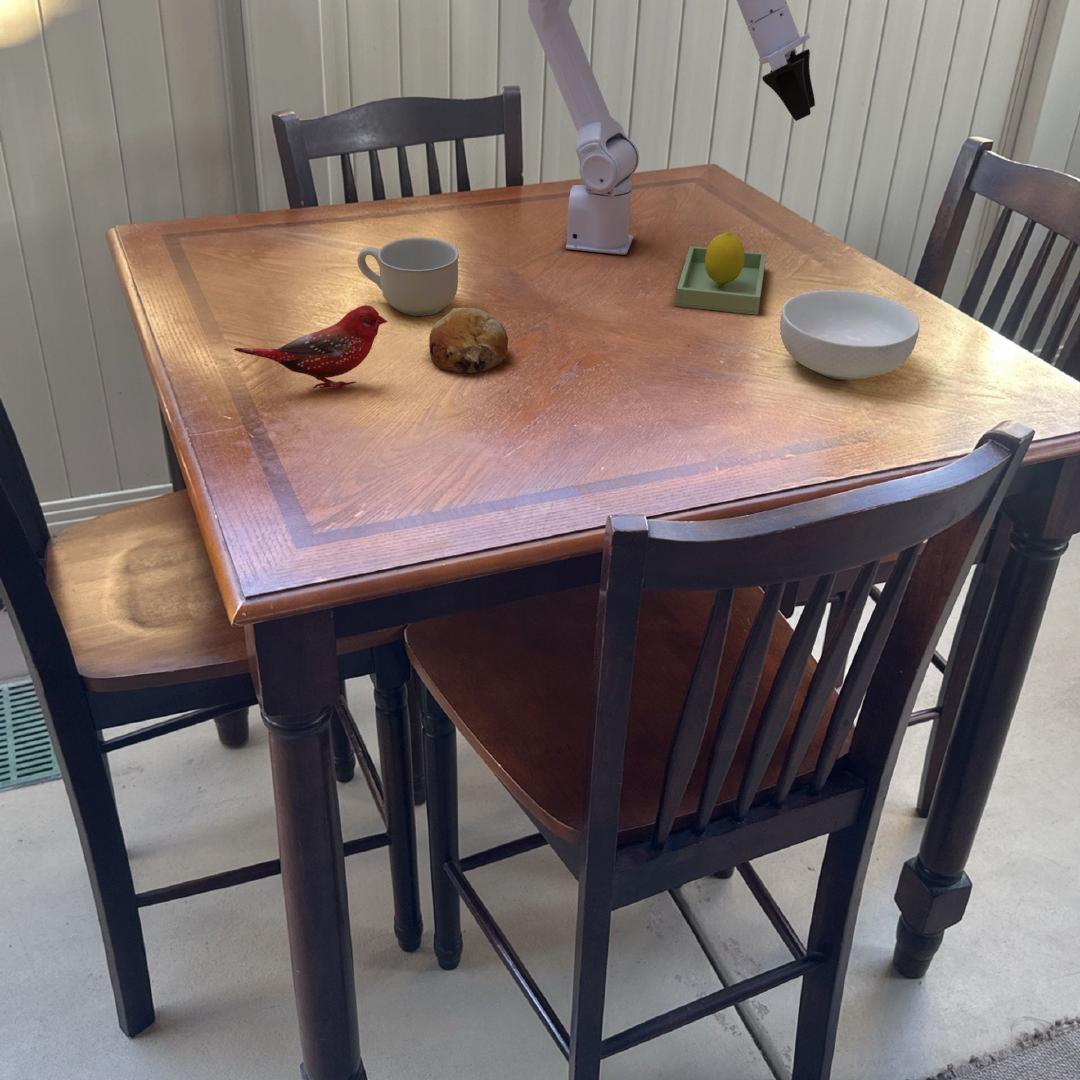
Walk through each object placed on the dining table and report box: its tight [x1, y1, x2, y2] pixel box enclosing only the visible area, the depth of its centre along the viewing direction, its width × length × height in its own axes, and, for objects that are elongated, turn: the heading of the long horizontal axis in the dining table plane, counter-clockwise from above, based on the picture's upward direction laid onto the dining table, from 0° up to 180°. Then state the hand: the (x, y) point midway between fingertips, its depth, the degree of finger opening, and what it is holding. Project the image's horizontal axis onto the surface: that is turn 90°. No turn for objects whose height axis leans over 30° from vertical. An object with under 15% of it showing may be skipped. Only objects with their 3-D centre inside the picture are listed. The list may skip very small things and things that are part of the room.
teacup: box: [356, 236, 460, 317], centre depth 153 cm, size 14×11×8 cm
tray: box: [675, 245, 767, 316], centre depth 163 cm, size 11×17×3 cm, turn 168°
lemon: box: [705, 231, 745, 286], centre depth 161 cm, size 6×6×8 cm
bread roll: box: [428, 307, 509, 374], centre depth 141 cm, size 10×10×8 cm
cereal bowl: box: [779, 289, 920, 381], centre depth 141 cm, size 17×17×7 cm
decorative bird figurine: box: [233, 304, 388, 389], centre depth 131 cm, size 3×18×10 cm, turn 107°
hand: (805, 113), depth 154 cm, fingers open, 7 cm apart
